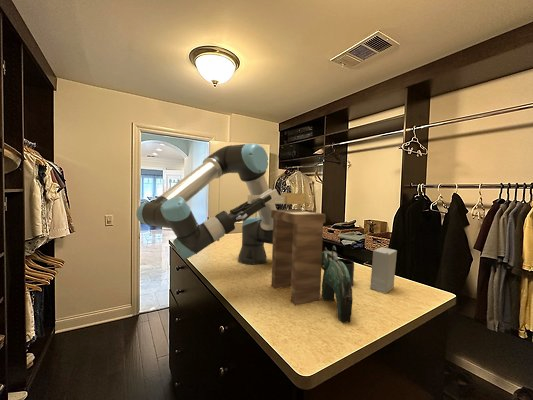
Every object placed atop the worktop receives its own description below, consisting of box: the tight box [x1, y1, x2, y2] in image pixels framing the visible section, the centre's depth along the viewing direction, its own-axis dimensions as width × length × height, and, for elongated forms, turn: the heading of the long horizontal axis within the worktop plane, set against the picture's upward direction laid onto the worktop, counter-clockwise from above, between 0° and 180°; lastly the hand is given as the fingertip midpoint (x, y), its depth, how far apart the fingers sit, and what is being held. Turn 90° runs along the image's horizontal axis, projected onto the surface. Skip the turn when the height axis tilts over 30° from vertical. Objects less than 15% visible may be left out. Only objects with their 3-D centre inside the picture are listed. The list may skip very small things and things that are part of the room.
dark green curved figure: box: [321, 245, 354, 323], centre depth 82 cm, size 20×6×20 cm, turn 4°
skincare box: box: [370, 246, 398, 294], centre depth 100 cm, size 8×7×16 cm
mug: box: [338, 257, 355, 286], centre depth 105 cm, size 9×12×9 cm
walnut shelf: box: [270, 209, 327, 306], centre depth 93 cm, size 18×12×30 cm, turn 25°
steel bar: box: [247, 192, 307, 205], centre depth 94 cm, size 5×22×4 cm, turn 115°
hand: (274, 192), depth 94 cm, fingers closed on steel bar, 3 cm apart
